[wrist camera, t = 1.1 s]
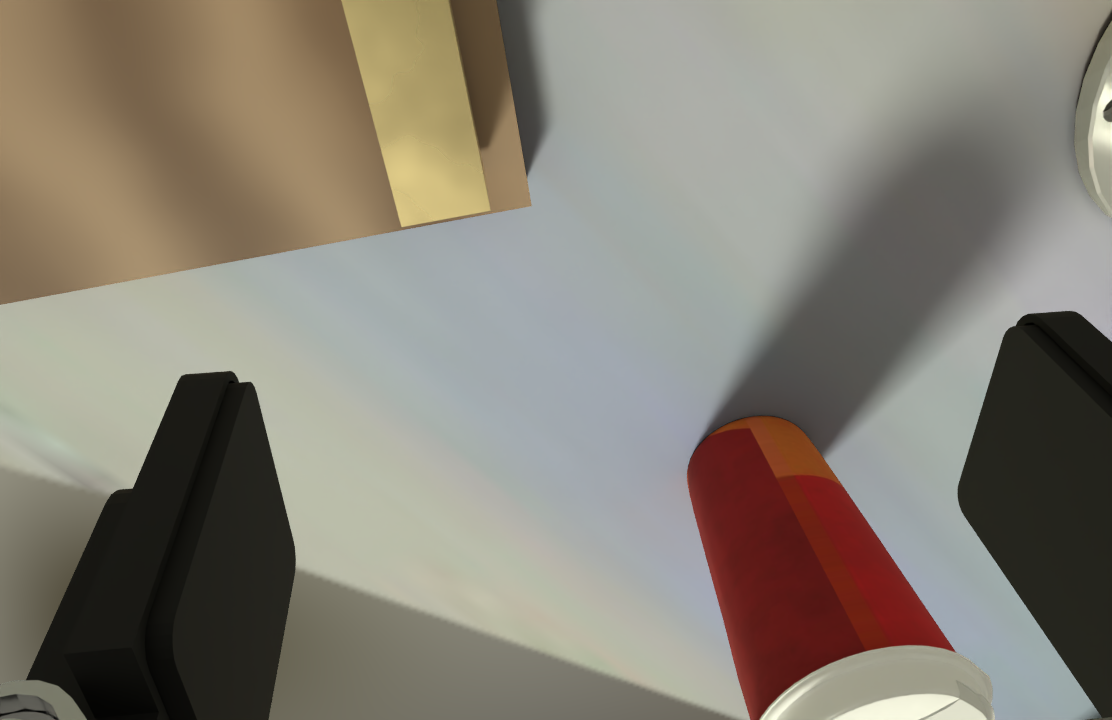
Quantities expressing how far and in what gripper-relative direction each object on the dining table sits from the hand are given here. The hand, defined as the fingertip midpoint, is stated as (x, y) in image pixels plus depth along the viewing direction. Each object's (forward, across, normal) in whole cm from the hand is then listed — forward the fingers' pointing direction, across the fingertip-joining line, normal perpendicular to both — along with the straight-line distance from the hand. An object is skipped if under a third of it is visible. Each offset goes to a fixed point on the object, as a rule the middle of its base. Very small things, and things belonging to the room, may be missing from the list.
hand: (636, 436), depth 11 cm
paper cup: (+20, -9, +19) cm, 29 cm away
